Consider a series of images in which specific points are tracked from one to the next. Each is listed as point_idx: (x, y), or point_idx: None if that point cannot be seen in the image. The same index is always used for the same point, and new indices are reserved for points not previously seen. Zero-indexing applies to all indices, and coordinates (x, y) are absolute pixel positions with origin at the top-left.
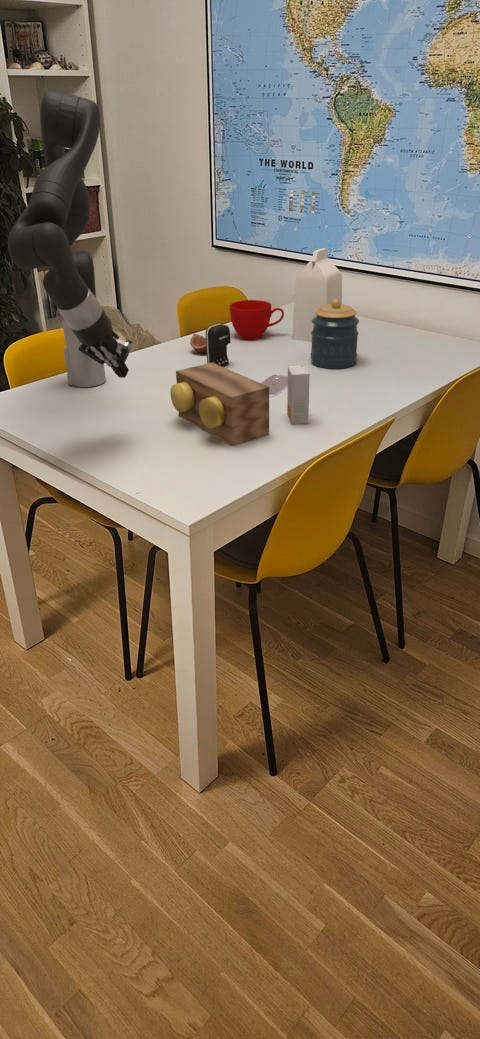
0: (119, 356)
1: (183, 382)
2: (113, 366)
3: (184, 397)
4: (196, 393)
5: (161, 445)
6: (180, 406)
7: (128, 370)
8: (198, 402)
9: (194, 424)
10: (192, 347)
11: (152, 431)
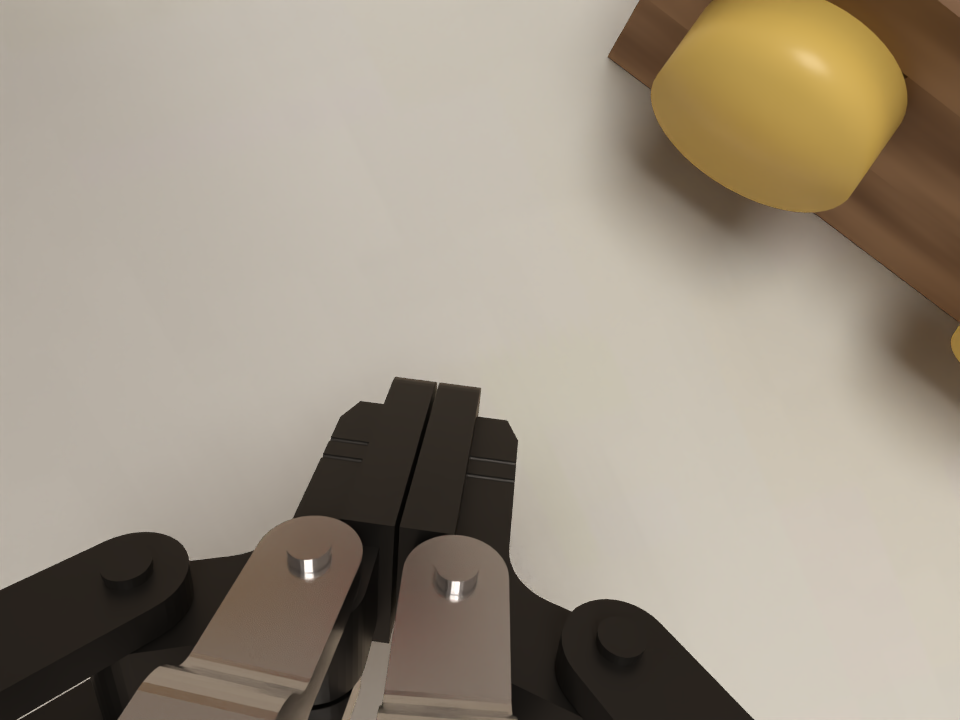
0: (513, 711)
1: (836, 23)
2: (374, 635)
3: (849, 195)
4: (932, 117)
5: (684, 499)
6: (747, 177)
7: (507, 429)
8: (903, 153)
9: None
10: None
11: (550, 326)
